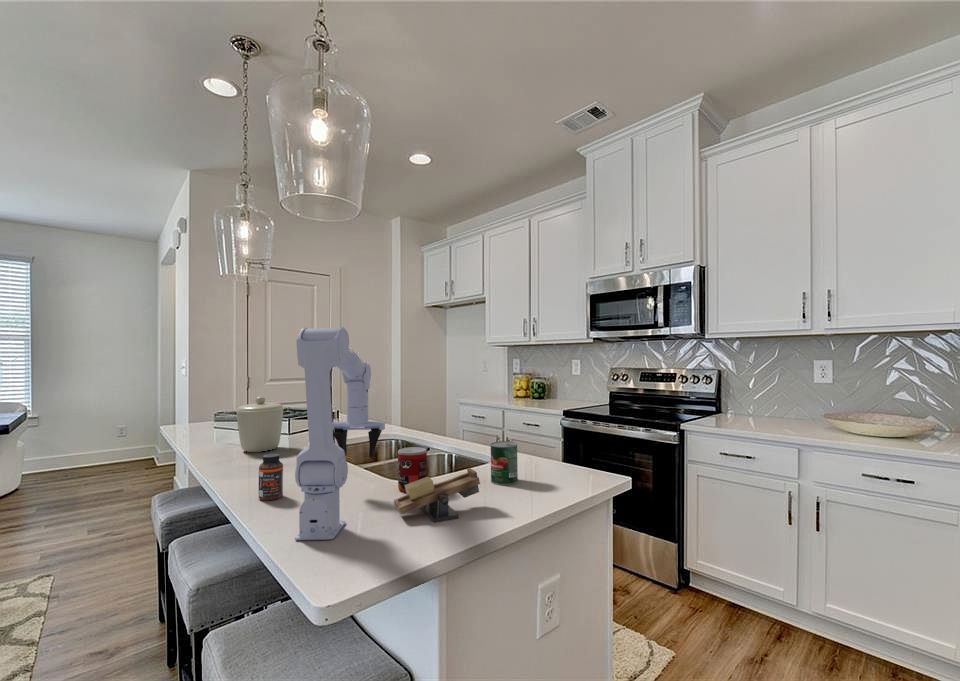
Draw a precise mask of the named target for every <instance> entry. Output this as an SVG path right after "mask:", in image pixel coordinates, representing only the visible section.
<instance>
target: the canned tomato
mask: <svg viewBox="0 0 960 681" xmlns="http://www.w3.org/2000/svg"><path fill="white" fill-rule="evenodd" d="M518 472H519V471H518V443H517V442H515V441H508V440H505V441H504V440H502V441H494V442H491V443H490V483H492V484H493V485H497V486H511V485H512V486H513V485H515V484H517V483H518V482H519V480H518V478H519V476H518Z"/></svg>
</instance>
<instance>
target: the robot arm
mask: <svg viewBox="0 0 960 681" xmlns="http://www.w3.org/2000/svg"><path fill="white" fill-rule="evenodd" d="M295 343H296V356H297V364H298V366H299V367H300V368H303V369H304V380H305V383H304V384H305V394H306V395H305V396H306V397H305V398H306V412H307V414H306V416H307V427H308V428H307V429H308V432H307V433H308V443H309V444H308V445H307V446H306V447H305V448H303V449H302V450H301V451H300V452H299V453H298V454H297V457H296V465H295V469H294V470H295V471H294V480H295V483H296V485H297V486H298V487H299V488H300V489H301V490H300V492H301V493H303V494H304V498H303V499H304V500H303V502H302V503H301V505H300V507H299V512H298V513H299V514H298V515H299V516H298V517H299V518H298V519H299V521H298V524H299V525H298V526H299V530H298V531H299V532H298V534H297V535H296V536H295V537H294V540H295V541H318V540H321V541H323V540H324V541H325V540H326V541H327V540H334V539H335V538H336V536H337V535H338V534H339V532H340V531H341V529H342V528H343V527H344V525H345V524H346V520H344V519H343V520H342V519H340V517H341V516H340V514H341V512H340V509H341V508H340V505H341V504H340V503H341V502H340V488H342V487H343V486H344V485H345V484H346V481H347V479H348V475H349V464H348V462H347V459H346V457H347V454H348V453H347V452H348V450H347V439H348V431H351V430H352V431H354V430H355V431H357V430H359V431H361V430H362V431H363V430H366V431H367V430H368V442H369V448H368V449H369V458H373V457H374V456H375V451H376V447H377V443H378V441H379V438H380V436H381V434H382V432H383V431H384V430H385V429H386V422H385V421H370V420H369V389H370V388H371V378H372V377H371V376H372V370H371V369H372V368H371V365H370V364H368V363H367V362H363V360H362V359H361V358H360V356H359V355H358V354H357V353H356V351H355V350H353V349H349V348H350V337H349V332H348V330H346V328H345V327H344V326H342V327H328V328H327V327H326V328H324V327H323V328H321V327H319V328H318V327H317V328H313V327H312V328H308V327H304V328H301V329H300V331H299V333H298V336H297V338H296V342H295ZM333 368H338V369H339V370H340V372H341V376H342V379H343V382H344V384H346V421H334V422H333V418H332V417H333V416H332V402H331V401H332V400H331V399H332V398H331V397H332V396H331V384H330V383H331V379H330V372H331V369H333ZM334 440H336V442H337V443H336V442H334Z"/></svg>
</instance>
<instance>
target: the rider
mask: <svg viewBox="0 0 960 681" xmlns="http://www.w3.org/2000/svg"><path fill="white" fill-rule="evenodd" d="M434 485H435V484H434V481H433V479H432V478H431V477H430V476H427V477H425V478H423V479H420V480H417V481H414V482H412V483H409V484H406V485H405V489H406V493H405V494H406V495H407V498H408V500H409V501H410V502H412V501H415V500H418V499H420V498H423V497H426V496H428V495H431V494H434V493H435V488H434Z"/></svg>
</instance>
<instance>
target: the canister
mask: <svg viewBox="0 0 960 681" xmlns="http://www.w3.org/2000/svg"><path fill="white" fill-rule="evenodd" d="M254 400H255V403H248V404H243V405H240V406H238V407H237V408H236V409H234V412H235V413H236V419H237V429H238V435H239V442H240V443H239V444H240V447H241V449H242V451H244V452H246V451H247V453H263V452H262V451H265V452H269V451H268V450H270V451H273V450H275V449H277V448H278V446H279V445H280V442H281V441H280V440H281V436H282V427H283V418H284V410H285V409H286V406H284V405H282V404H281V403H277V402H266V398H265V396H257V397H255V399H254ZM276 447H277V448H276ZM272 449H273V450H272Z"/></svg>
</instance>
